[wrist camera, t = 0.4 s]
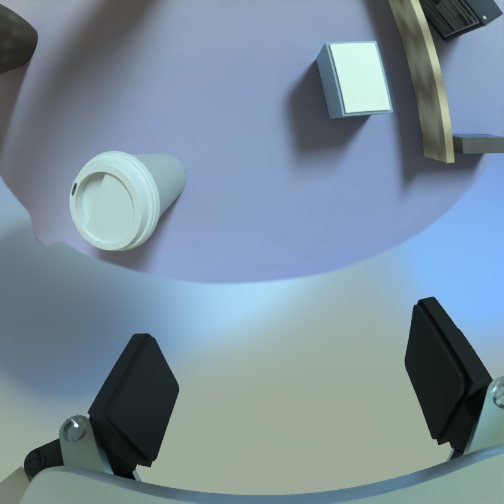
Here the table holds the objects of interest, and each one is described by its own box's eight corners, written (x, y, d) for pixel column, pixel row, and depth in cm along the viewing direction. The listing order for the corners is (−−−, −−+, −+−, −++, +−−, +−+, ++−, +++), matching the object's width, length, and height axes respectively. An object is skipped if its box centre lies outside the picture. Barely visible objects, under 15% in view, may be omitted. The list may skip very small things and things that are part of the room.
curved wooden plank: (367, -45, 19) (378, -64, 14) (445, -30, 17) (462, -43, 12) (424, 156, 32) (447, 162, 26) (493, 153, 29) (518, 160, 24)
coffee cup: (168, 127, 33) (105, 130, 19) (212, 184, 36) (172, 220, 22) (119, 172, 36) (49, 200, 22) (159, 225, 39) (105, 276, 25)
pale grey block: (315, 59, 28) (325, 42, 21) (357, 56, 27) (376, 40, 21) (329, 119, 31) (343, 116, 24) (371, 114, 30) (393, 112, 24)
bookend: (438, 134, 30) (461, 137, 24) (487, 134, 28) (511, 138, 23) (440, 148, 30) (463, 153, 25) (488, 147, 29) (512, 153, 24)
